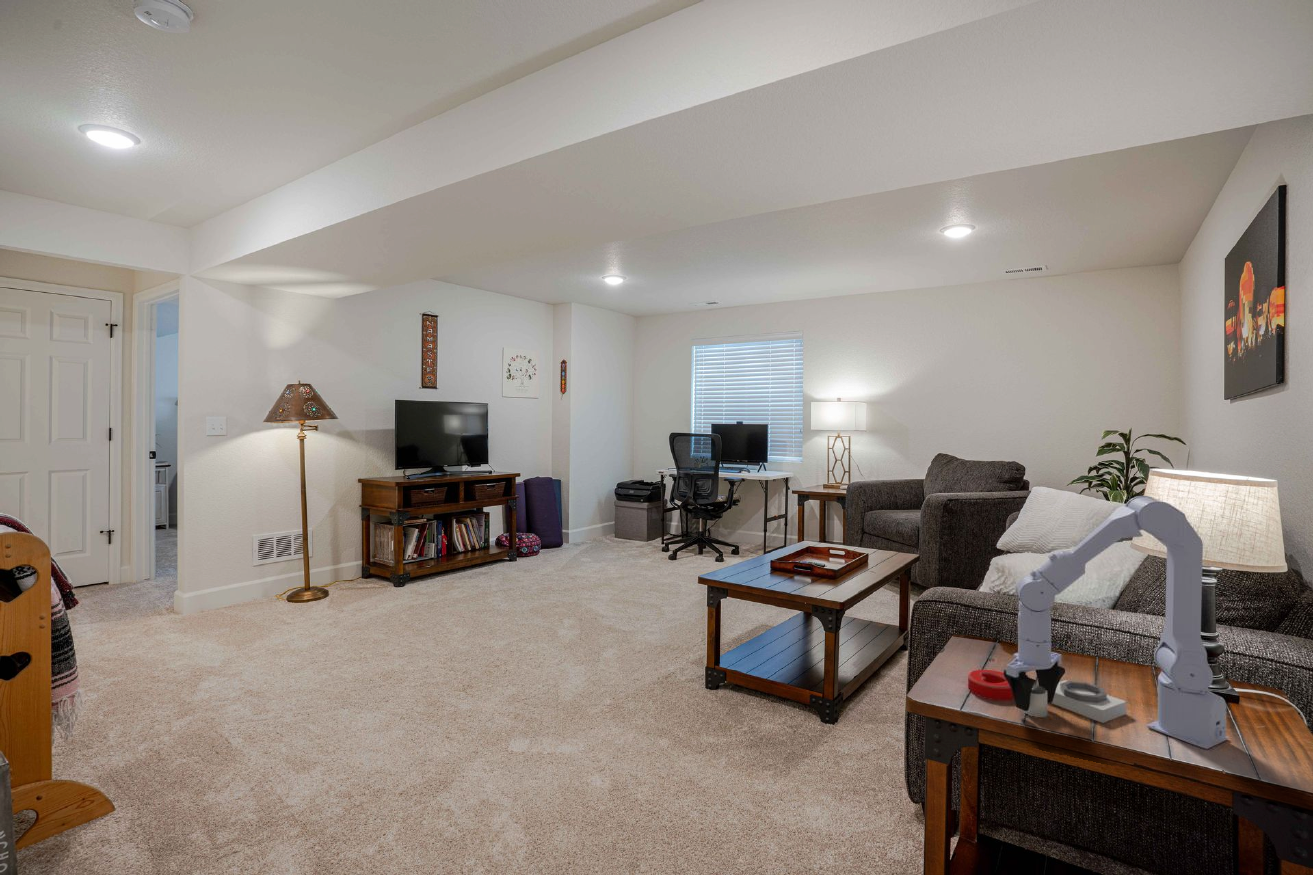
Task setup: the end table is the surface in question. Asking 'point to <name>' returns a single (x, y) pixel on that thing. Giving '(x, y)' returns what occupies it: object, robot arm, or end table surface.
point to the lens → (1037, 702)
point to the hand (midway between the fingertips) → (1034, 704)
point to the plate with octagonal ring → (1088, 701)
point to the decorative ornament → (989, 685)
